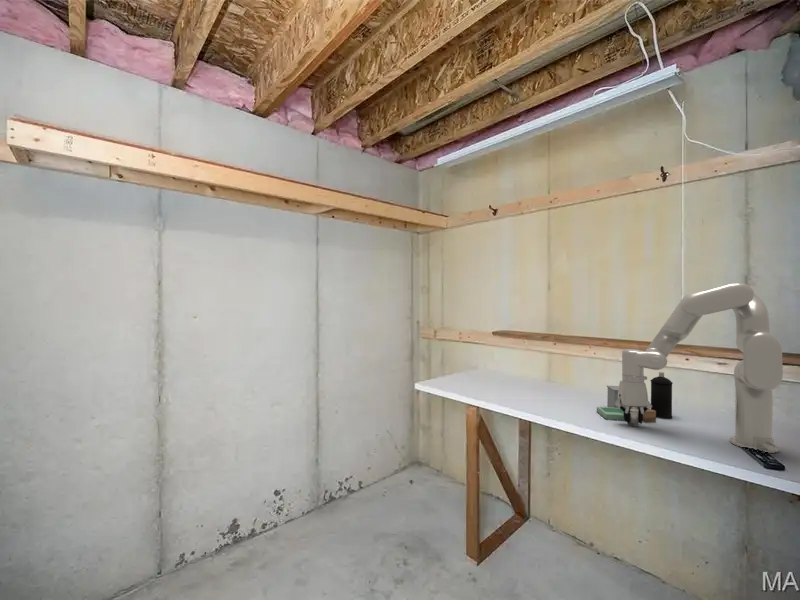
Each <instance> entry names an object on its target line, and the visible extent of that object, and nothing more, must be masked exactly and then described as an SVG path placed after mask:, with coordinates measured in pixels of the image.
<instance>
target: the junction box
mask: <svg viewBox="0 0 800 600" xmlns="http://www.w3.org/2000/svg"><path fill="white" fill-rule="evenodd" d="M606 388H607V400H606V403H607V404H606V405H607V406H606V407H612V408H619V407H617V406H616V405H615V402H616V401H617V400H618V389H619V385H606ZM620 405H621V406H623V405H622V403H620Z"/></svg>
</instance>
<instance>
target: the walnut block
mask: <svg viewBox="0 0 800 600" xmlns="http://www.w3.org/2000/svg"><path fill="white" fill-rule="evenodd" d="M644 422H645V424H649V423H653V424H654V423H657V417H656V411H654V410H652V409H651V408H649V409H647V411H645V412H644V414H643V421H642V423H644Z"/></svg>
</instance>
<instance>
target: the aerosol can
mask: <svg viewBox="0 0 800 600" xmlns="http://www.w3.org/2000/svg"><path fill="white" fill-rule="evenodd" d="M673 384H674V383H673V381H671V379H670V378H667V377H665V372H662V371H659V372H658V376H656V377H652V379H650V404H651V405H652V407H651V408H650V409H652V410H654V411H656V419H657V418H658V419H663V420H672V419H673Z"/></svg>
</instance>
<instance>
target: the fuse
mask: <svg viewBox="0 0 800 600" xmlns="http://www.w3.org/2000/svg"><path fill="white" fill-rule="evenodd" d="M628 413H629V414H630V423H627V425H628V426H631V427H635V428H638V427H639V426H640V423H639V407H634V406H629V411H628Z"/></svg>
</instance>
